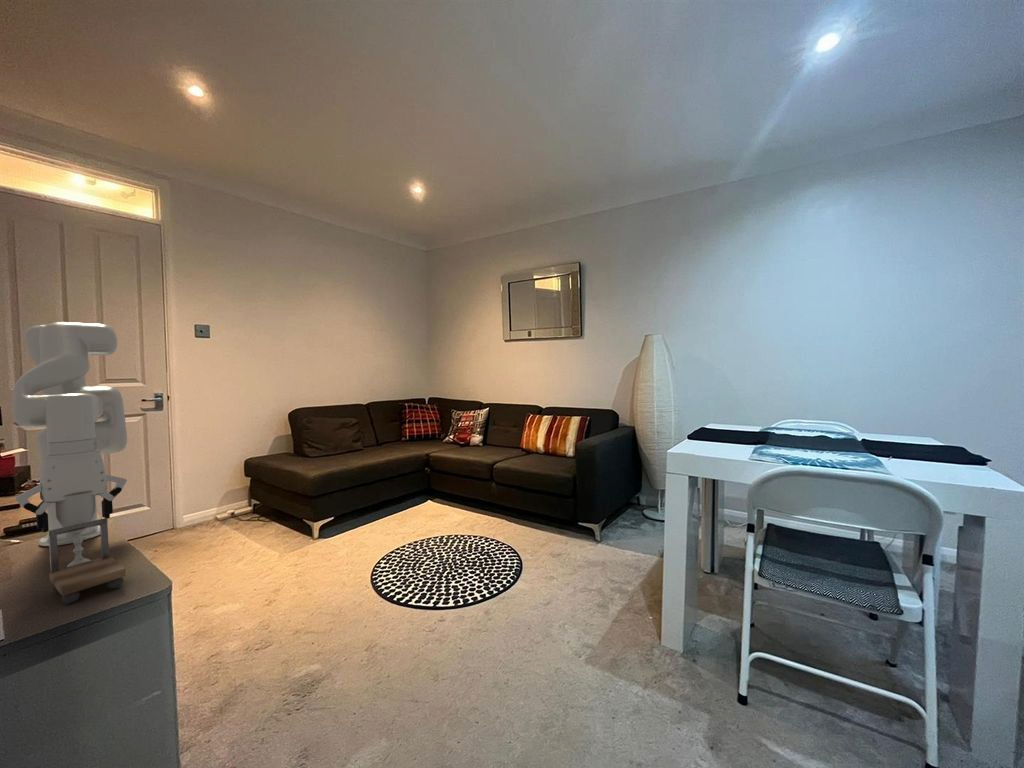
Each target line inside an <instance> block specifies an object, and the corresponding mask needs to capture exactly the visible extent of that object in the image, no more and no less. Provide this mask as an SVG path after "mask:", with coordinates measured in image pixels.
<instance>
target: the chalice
mask: <svg viewBox="0 0 1024 768" xmlns="http://www.w3.org/2000/svg"><path fill="white" fill-rule="evenodd" d="M92 493H93V491H92V492H88V493H84V494H78V495H72V496H63V497H64V498H65V499H66V500H65V501H63V502H57V503H55V508H56V518H57V519H58V521H59V523H60V524H61V526H62V527H68V526H72V525H77V524H81V523H86V522H90V521H91V520H92V518H93V516H94V513H95V510H96V509H95V496H91V494H92ZM86 529H87V528H85V529H80V530H76V531H72V532H68V533H70V534H74V537H75V538H74V541H73V543H72V544H73V545H74V549H72V552H73V553H74V554H75V556H74V557H75V558H73V560H72V561H71V562H69V563H68V564H67V565H66V567H70V566H73V565H77V564H80V563H84V562H88V561H91V559H89V558H88V557H86V558H85V557H84V556H83V555H82V553H83V550H84V549H85V548H84V547H83V546H82V543H83V541H84V540H82V539H81V536H80V535H81V532H83V531H85V530H86Z"/></svg>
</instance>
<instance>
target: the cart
mask: <svg viewBox="0 0 1024 768" xmlns="http://www.w3.org/2000/svg"><path fill="white" fill-rule="evenodd" d="M98 525H100V547H101V549H100V551H101V557H100V558H95V559H92V560H91V559H90V560H91V561H88V562H84V563H80V564H77V565H73V566H70V567H67V566H66V567H63V568H60V567H59V552H58V551H59V549H58V545H57V535H58V534H63V533H67V532H72V531H76V530H80V529H85V528H89V527H93V526H98ZM108 525H109V524H108V519H107V518H104V517H103V518H100V519H97V520H95V521H90V522H86V523H81V524H77V525H72V526H68V527H63V528H59V529H54V530H50V531H48V532H47V535H48V534H49V546H48V548H49V562H50V563H49V564H50V571H49V572H48V573H49V575H48V576H49V580H50V582H51V583H52V585H51V586H52V587H51V588H52V590H53V591H55V592H58V593H59V594H60V595H61V602H62V603H64V604H65V605H69V604H73V603H75V602H76V601H78V600H79V597H80V595H81V594H80V591H83V590H86V589H89V588H93V587H95V586H98V585H101V584H105V583H107V587H108V588H109V589H111V590H116V589H118V588H120V587H121V586H122V585H123V583H124V579H123V578H124V577H126V568H125V567H124V566H123V565H122V564H120V563H119V562H118V561H117V560H115V559H114V558H113V557H112V556H111V555H110V548H109V529H108Z"/></svg>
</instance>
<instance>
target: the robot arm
mask: <svg viewBox="0 0 1024 768" xmlns="http://www.w3.org/2000/svg"><path fill="white" fill-rule="evenodd" d="M24 343H25V347H26V351H27V353H28V355H29V358H31V361H32V362H33V364H34V365H35V366H34V367H32V368H30V369H29V370H27V371H26V372H25V373H22V375H21V376H20V377H19V378H18V379H17V380H16V382H15V383H14V385H13V388H12V389H13V390H12V401H11V402H12V404H11V405H12V407H11V408H12V416H13V420H14V422H15V423H16V424H17V425H19V426H20V427H23V428H29V429H30V428H31V429H33V428H43V429H42V430H40V432H39V433H38V434H37V437H36V443H37V449H38V452H39V456H40V459H41V463H40V468H39V469H40V470H39V484H37V485H36V486H33V487H32V488H30V489H28V490H26V491H25V492H22V493H20V494H18V495H16V496H15V497H14V500H15V501H16V502H17V503H18V504H19V505H20V506H21V507H22V508H23V509H25V510H26V511H29V512H31V513H33V514H34V515H35V516H36V517H35V519H36V528H37V530H40V529H41V532H43V533H47V535H45V536H43V537H41V538H40V539H39V540H38V544H39V546H41V547H49V534H48V531H50V530H54V529H59V528H63V527H62V526H61V524H60V523H59V521H58V519H57V518H56V508H55V503H57V502H63V501H65V500H66V499H65V498H64V497H63V496H72V495H78V494H84V493H88V492H92V491H93V493H92V494H91V496H95V509H96V510H95V513H94V516H93V518H92V520H91V521H95V520H98V514H97V496H100V497H101V498H102V500H101V513H102V514H101V516H102V518H103V519H104V518H107V520H108V519H110V518H111V514H113V512H114V511H113V508H114V507H113V500H115V498H116V497H117V495H119V494H120V493H121V492H122V490H123V488H124V487H125V485H126V483H127V479H126V478H124V477H119V476H114V475H109V474H107V473H106V467H105V463H104V459H103V456H102V455H109V454H110V455H111V454H116V453H119V452H121V451H123V450H124V449H126V446H127V444H128V434H127V433H128V432H127V423H126V416H125V408H124V400H123V396H122V394H121V392H120V390H118V389H117V388H115V387H113V386H87V385H86V375H87V373H88V372H89V371H90V360H89V356H111V355H113V354H114V353H115V352H116V350H117V347H118V337H117V334H116V332H115V330H114V329H113V328H112V327H111V326H110V325H108V324H103V323H88V322H87V323H85V322H84V323H83V322H70V321H69V322H67V321H61V322H59V321H57V322H51V323H48V324H40V325H39V324H38V325H33V326H30V327H28V328H27V329H26V330H25V333H24ZM41 391H42V393H40V394H37V393H39V392H41ZM98 420H101V421H98ZM108 482H113V483H115V486H114V487H113V488H112V489H111V490H110V491H109V492H108V491H107V490H108ZM38 493H39V498H40V500H41V501H40V502H39V503H38V504H37V505H36V504H33V503H31V502H30V501H29V498H30V497H33V496H35V495H37V494H38ZM80 536H81V539H82V540H83V541H85V540H89V539H93V538H95V537H98V536H101V534H100V525H98V526H93V527H89V528H87V529H86V530H85V531H83V532H81V535H80ZM74 538H75V537H74V534H70V533H68V532H67V533H63V534H58V535H57V546H63V545H68V544H73V541H74Z"/></svg>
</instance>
